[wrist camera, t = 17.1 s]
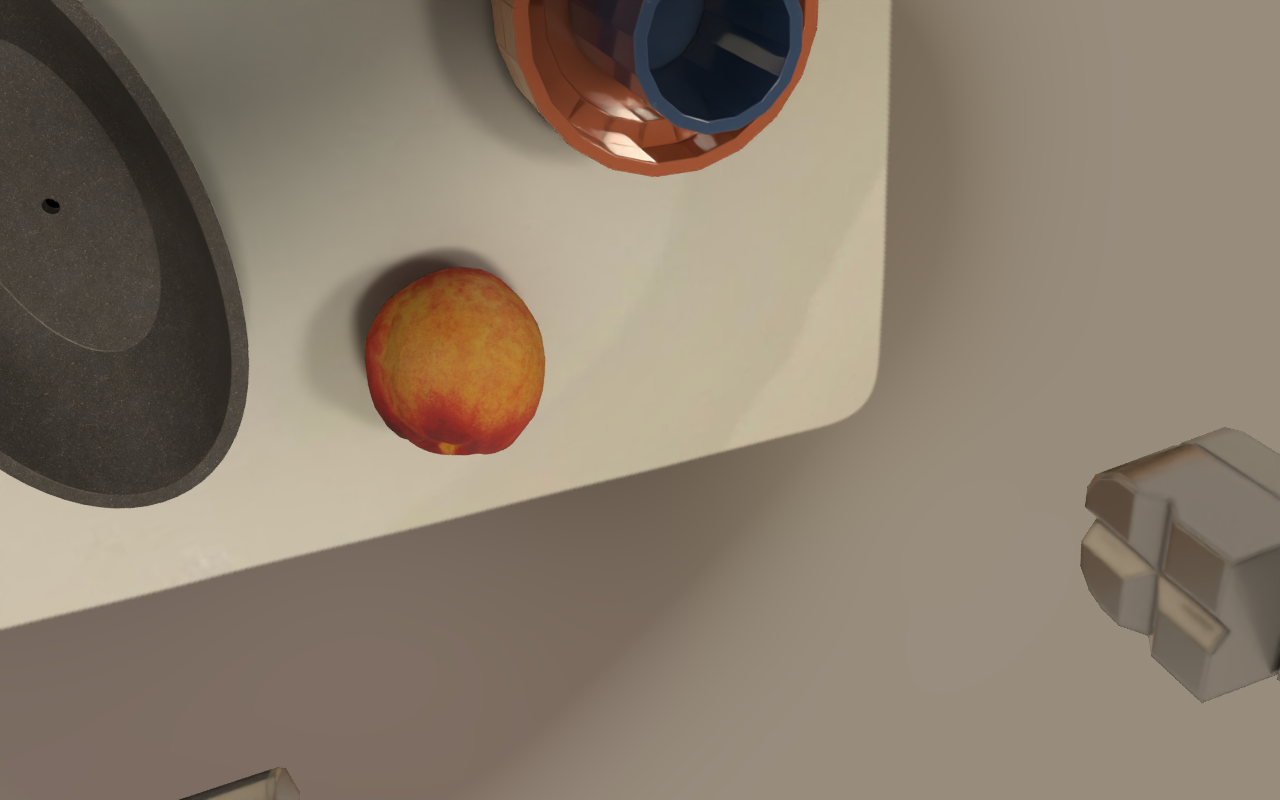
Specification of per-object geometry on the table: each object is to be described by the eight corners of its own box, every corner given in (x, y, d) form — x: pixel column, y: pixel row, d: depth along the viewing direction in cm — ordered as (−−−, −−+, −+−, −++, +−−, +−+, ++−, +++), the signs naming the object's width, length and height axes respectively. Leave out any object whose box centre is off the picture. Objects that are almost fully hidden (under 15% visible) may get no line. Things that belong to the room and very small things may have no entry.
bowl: (34, 466, 44) (4, 551, 39) (-302, -79, 32) (-408, -60, 27) (310, 383, 46) (316, 453, 41) (90, -157, 35) (60, -153, 29)
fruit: (317, 348, 46) (327, 438, 39) (428, 211, 44) (458, 280, 38) (455, 430, 50) (484, 524, 43) (561, 307, 48) (608, 385, 42)
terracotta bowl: (655, -244, 39) (702, -251, 34) (816, 10, 45) (871, 30, 41) (424, -16, 40) (443, 3, 36) (614, 197, 47) (649, 235, 43)
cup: (539, -29, 40) (602, 7, 33) (672, -110, 40) (764, -93, 33) (610, 106, 44) (680, 165, 36) (731, 31, 44) (826, 75, 37)
